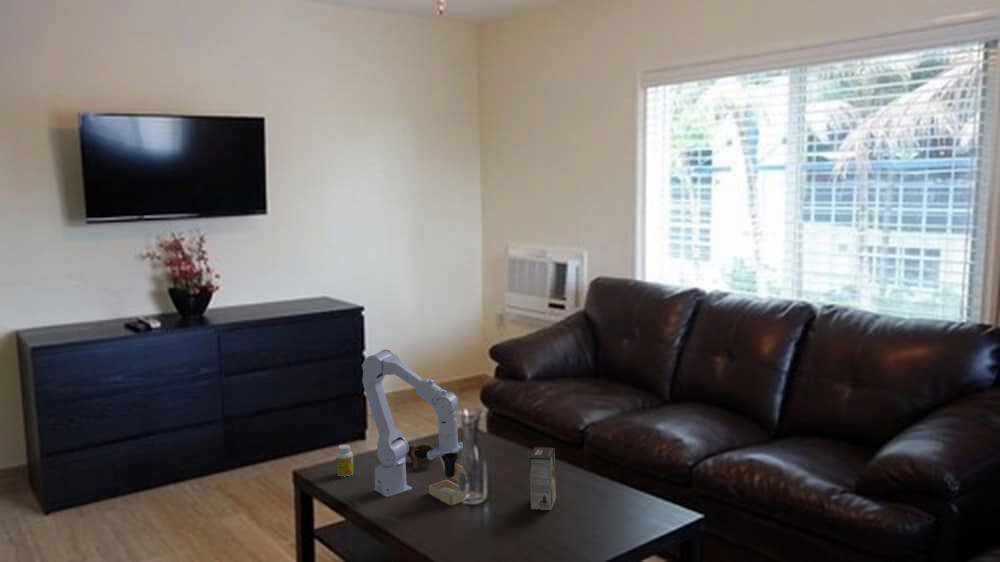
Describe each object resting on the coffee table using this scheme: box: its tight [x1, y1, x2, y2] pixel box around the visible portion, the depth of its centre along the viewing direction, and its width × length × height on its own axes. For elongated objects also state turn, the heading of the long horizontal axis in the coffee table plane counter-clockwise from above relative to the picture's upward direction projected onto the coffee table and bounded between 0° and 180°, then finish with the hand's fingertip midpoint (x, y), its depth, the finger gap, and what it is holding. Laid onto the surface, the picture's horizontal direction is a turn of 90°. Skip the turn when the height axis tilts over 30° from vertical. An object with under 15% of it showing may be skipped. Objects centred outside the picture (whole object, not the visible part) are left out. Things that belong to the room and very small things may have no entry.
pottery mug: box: [406, 443, 437, 470], centre depth 270 cm, size 12×10×8 cm
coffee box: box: [529, 446, 557, 511], centre depth 235 cm, size 9×6×16 cm
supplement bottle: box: [336, 444, 355, 478], centre depth 262 cm, size 5×5×10 cm
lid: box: [439, 456, 468, 482], centre depth 242 cm, size 7×12×1 cm
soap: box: [439, 487, 457, 496], centre depth 241 cm, size 3×5×2 cm, turn 48°
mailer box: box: [428, 479, 467, 506], centre depth 242 cm, size 7×12×3 cm, turn 38°
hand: (450, 476), depth 241 cm, fingers closed
